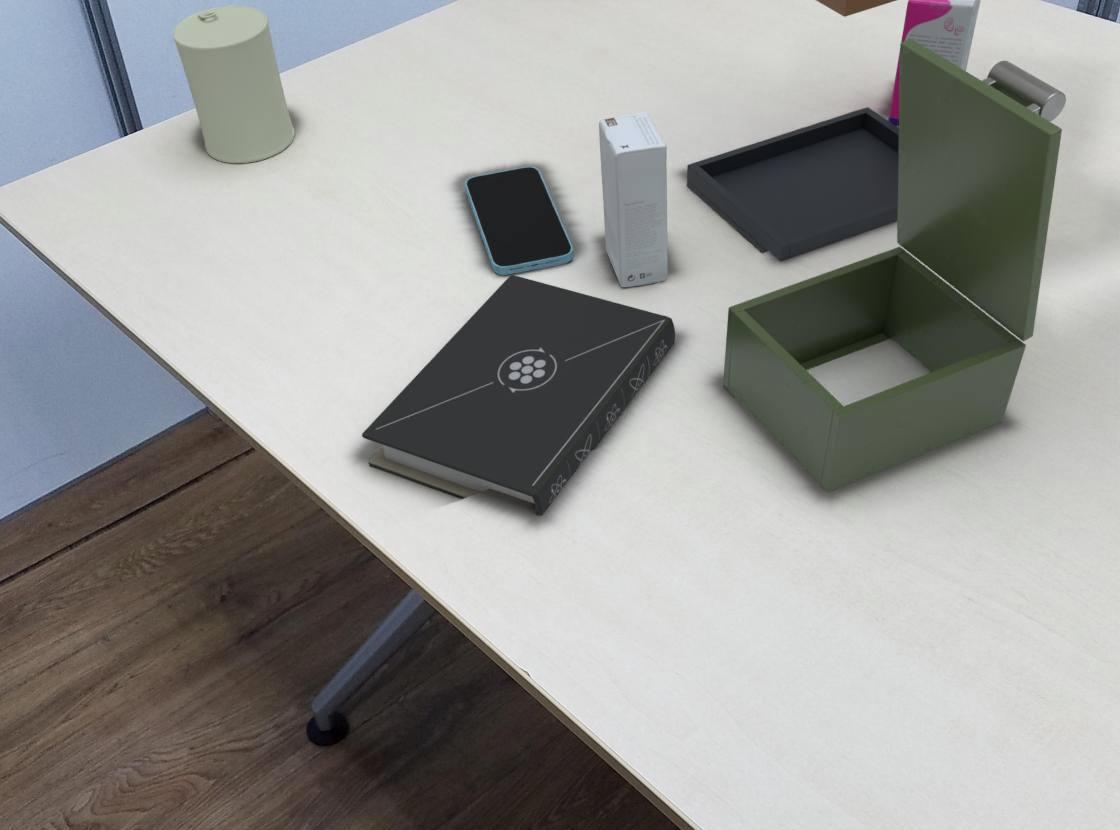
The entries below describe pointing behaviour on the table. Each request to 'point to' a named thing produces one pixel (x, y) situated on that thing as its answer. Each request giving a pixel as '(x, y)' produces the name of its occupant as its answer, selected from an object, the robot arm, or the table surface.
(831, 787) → the table surface
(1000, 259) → the lid
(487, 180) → the smartphone
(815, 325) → the green box base
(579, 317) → the book
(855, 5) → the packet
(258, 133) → the can
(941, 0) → the supplement box
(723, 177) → the tray
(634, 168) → the cosmetic box
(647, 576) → the table surface
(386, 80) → the table surface
